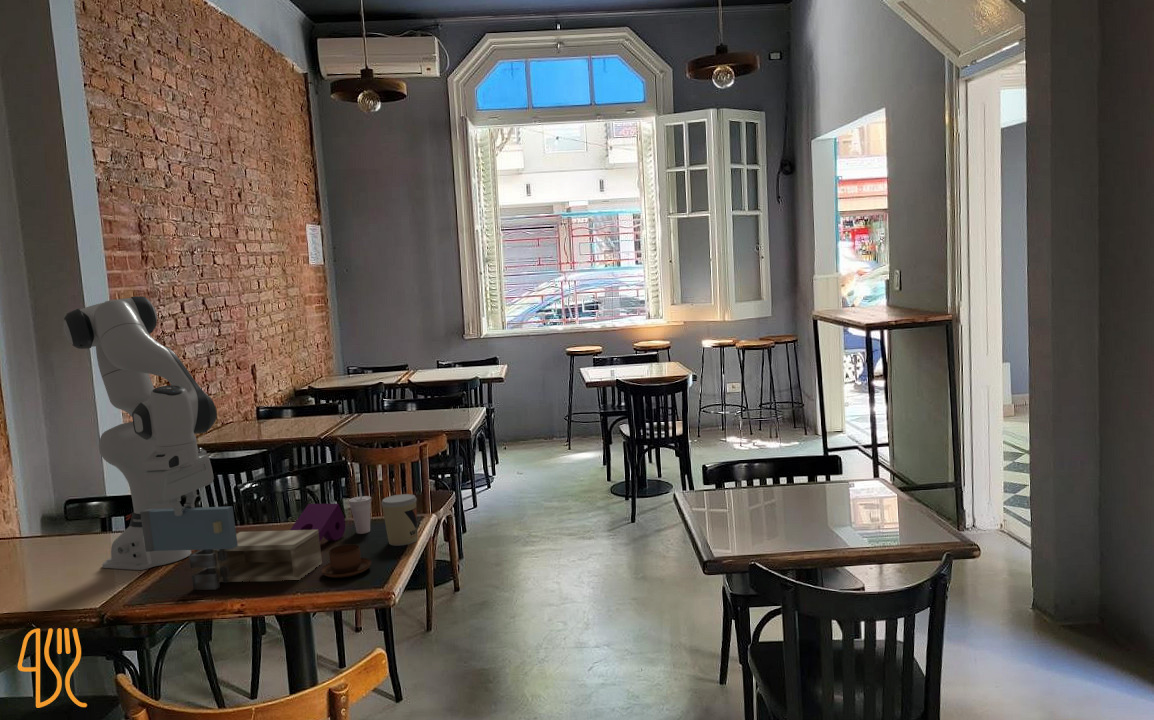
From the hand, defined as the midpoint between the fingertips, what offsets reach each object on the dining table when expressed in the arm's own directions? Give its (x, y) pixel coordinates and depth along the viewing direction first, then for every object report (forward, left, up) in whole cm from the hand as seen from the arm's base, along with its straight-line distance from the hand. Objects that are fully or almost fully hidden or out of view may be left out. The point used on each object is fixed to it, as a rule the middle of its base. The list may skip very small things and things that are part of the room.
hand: (185, 512), depth 201 cm
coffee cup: (+37, +38, -20) cm, 57 cm away
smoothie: (+21, +48, -20) cm, 56 cm away
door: (0, 0, -9) cm, 9 cm away
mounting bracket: (+11, +36, -20) cm, 43 cm away
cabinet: (+9, +12, -20) cm, 25 cm away
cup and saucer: (+32, +14, -20) cm, 40 cm away
